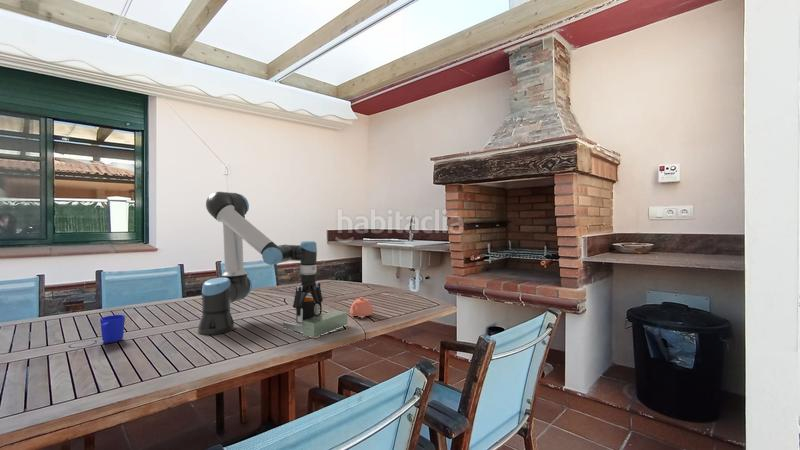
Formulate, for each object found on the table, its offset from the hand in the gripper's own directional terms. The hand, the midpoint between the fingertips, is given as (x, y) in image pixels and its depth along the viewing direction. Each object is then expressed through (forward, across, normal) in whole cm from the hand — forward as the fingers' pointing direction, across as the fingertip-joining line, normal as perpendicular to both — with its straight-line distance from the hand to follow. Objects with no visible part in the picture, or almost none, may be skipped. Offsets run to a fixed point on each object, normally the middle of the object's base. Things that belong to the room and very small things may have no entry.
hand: (308, 319), depth 176 cm
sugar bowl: (+4, +28, -9) cm, 30 cm away
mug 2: (+1, +1, 0) cm, 1 cm away
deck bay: (+4, 0, -4) cm, 5 cm away
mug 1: (+4, -61, +52) cm, 80 cm away
